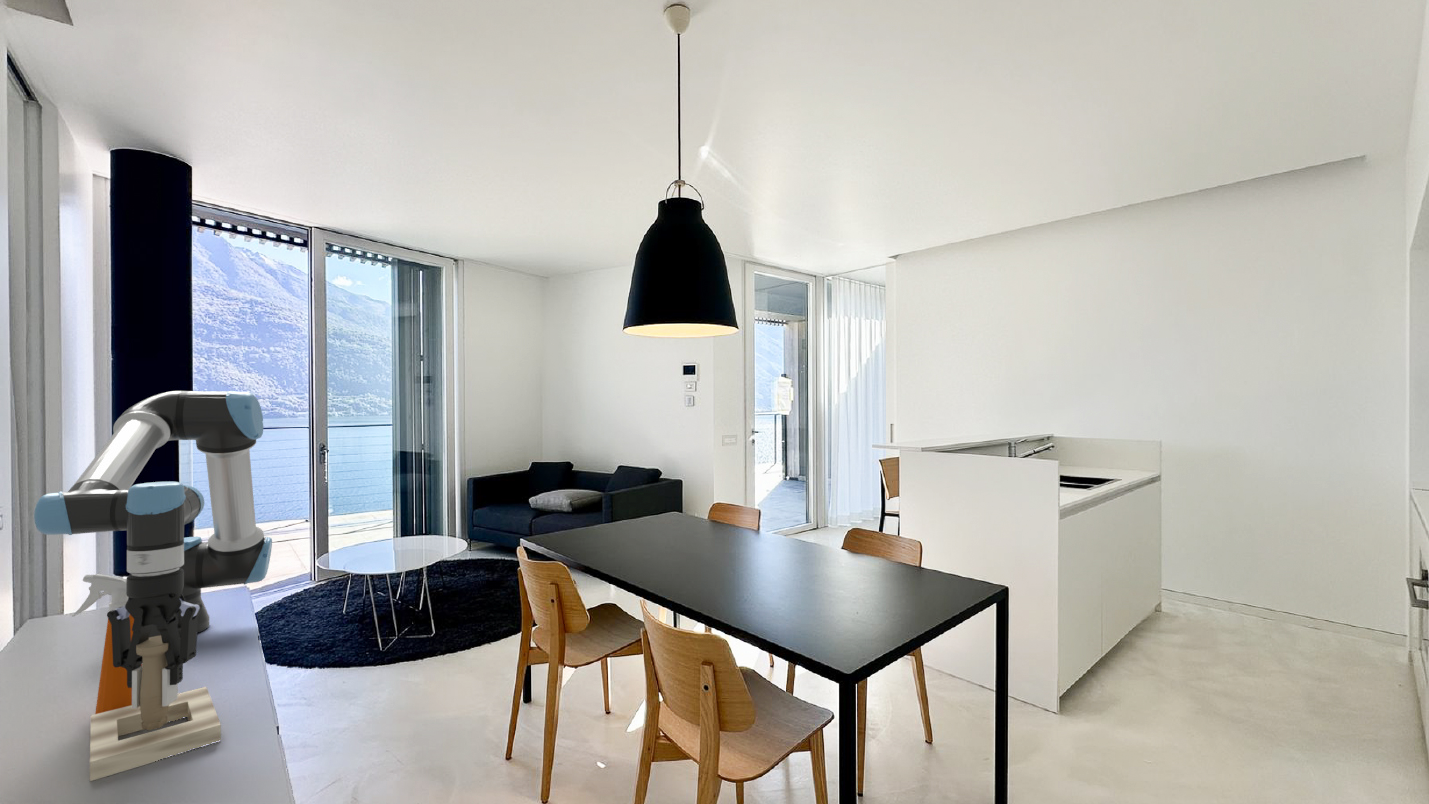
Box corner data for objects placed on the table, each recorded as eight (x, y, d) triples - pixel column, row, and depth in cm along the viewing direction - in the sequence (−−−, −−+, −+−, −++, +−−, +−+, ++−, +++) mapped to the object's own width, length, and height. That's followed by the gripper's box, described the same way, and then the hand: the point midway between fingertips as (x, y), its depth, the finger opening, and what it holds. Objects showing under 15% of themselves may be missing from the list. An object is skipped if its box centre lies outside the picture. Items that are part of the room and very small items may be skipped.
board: (90, 732, 110) (90, 715, 110) (206, 701, 121) (206, 686, 121) (89, 781, 96) (89, 761, 96) (220, 741, 107) (220, 724, 107)
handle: (134, 738, 105) (135, 650, 105) (137, 723, 110) (137, 639, 110) (172, 729, 108) (173, 643, 108) (173, 715, 113) (173, 632, 113)
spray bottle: (83, 707, 119) (84, 570, 119) (153, 698, 123) (154, 565, 123) (59, 725, 112) (60, 580, 112) (135, 715, 116) (135, 575, 116)
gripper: (82, 578, 104) (81, 718, 104) (196, 574, 107) (195, 710, 107) (117, 567, 111) (116, 697, 111) (223, 563, 114) (222, 690, 114)
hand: (155, 703), depth 109 cm, fingers closed on handle, 4 cm apart
